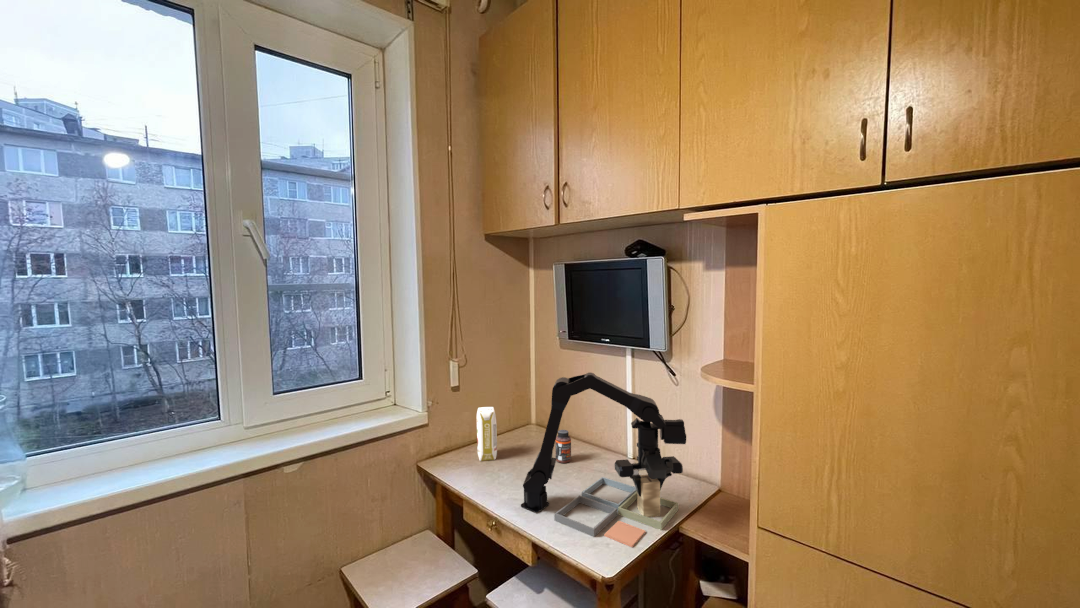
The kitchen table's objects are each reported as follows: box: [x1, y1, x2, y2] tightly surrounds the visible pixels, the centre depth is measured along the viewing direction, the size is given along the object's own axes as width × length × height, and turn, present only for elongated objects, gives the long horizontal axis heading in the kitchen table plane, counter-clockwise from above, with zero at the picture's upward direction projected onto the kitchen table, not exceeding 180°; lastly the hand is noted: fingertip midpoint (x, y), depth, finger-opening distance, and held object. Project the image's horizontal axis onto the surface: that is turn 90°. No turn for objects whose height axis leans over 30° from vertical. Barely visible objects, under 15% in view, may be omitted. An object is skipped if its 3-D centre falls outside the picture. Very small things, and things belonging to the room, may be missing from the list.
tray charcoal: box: [553, 494, 618, 538], centre depth 119 cm, size 13×13×2 cm
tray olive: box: [617, 491, 680, 531], centre depth 122 cm, size 13×13×2 cm
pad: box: [604, 520, 646, 548], centre depth 111 cm, size 8×8×1 cm
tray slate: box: [581, 476, 637, 512], centre depth 131 cm, size 13×13×2 cm
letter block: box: [636, 474, 661, 518], centre depth 121 cm, size 5×5×10 cm
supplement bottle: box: [555, 429, 572, 464], centre depth 159 cm, size 6×6×11 cm
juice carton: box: [476, 406, 498, 462], centre depth 163 cm, size 8×9×19 cm
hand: (648, 495), depth 121 cm, fingers closed on letter block, 5 cm apart
